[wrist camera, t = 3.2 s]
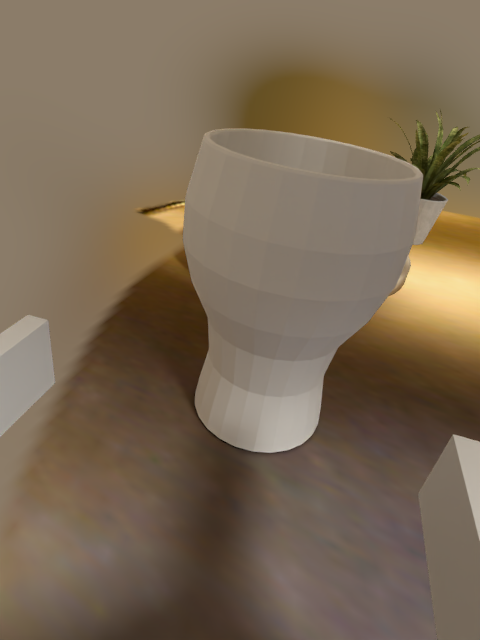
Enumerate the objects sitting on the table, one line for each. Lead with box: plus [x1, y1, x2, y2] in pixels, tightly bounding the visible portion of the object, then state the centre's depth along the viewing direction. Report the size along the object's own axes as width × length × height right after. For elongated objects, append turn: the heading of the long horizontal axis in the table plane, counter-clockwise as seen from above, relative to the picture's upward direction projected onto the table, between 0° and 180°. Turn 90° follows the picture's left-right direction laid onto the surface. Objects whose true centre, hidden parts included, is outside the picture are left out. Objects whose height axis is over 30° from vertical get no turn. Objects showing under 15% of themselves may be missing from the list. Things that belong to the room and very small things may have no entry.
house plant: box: [391, 112, 480, 245], centre depth 55 cm, size 14×14×16 cm
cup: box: [183, 129, 423, 453], centre depth 22 cm, size 11×11×15 cm
